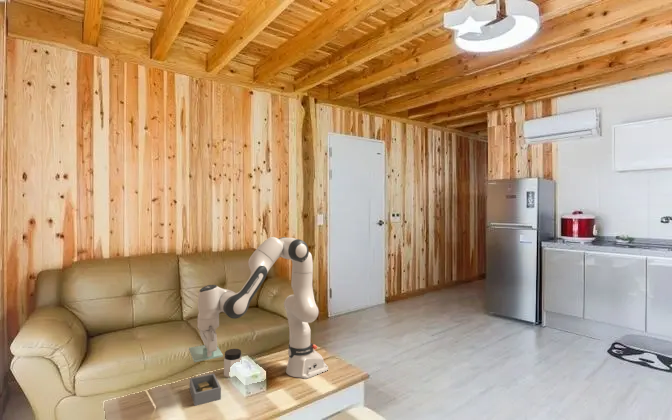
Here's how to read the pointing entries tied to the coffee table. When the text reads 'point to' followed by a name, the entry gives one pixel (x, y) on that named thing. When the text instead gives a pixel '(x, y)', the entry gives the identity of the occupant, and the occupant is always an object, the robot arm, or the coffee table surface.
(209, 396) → the tub
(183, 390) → the coffee table surface
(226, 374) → the jar
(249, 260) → the robot arm
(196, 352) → the lid
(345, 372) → the coffee table surface
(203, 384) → the part
